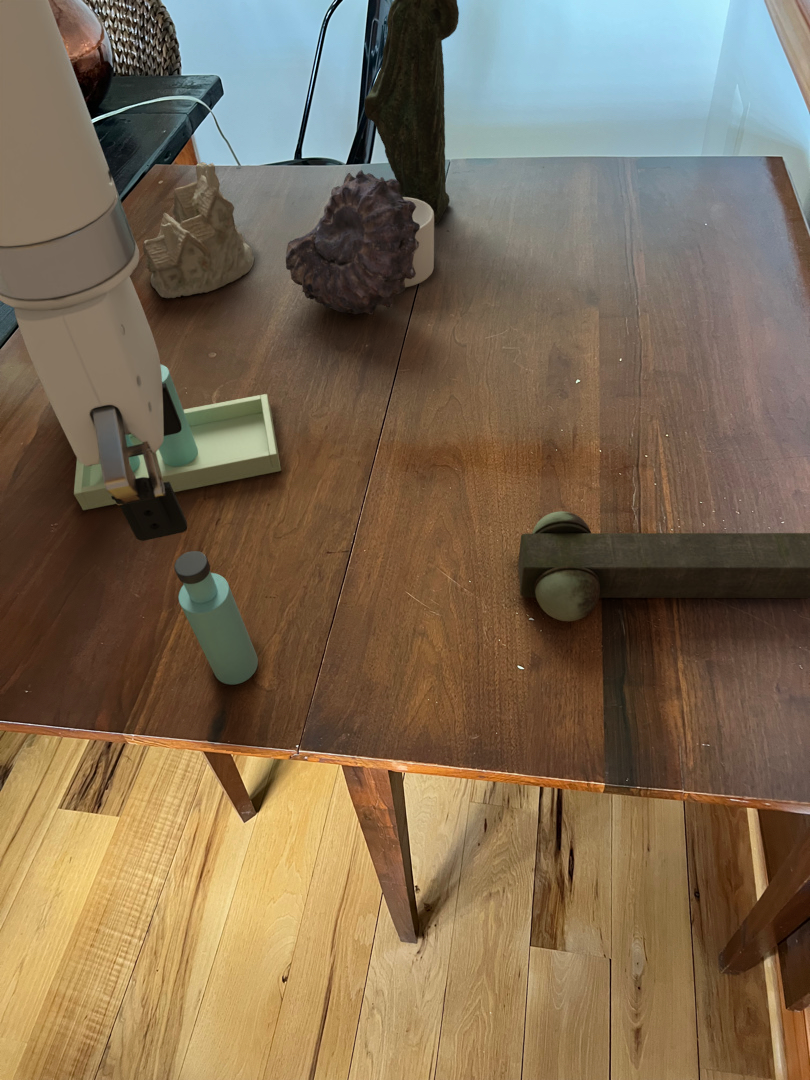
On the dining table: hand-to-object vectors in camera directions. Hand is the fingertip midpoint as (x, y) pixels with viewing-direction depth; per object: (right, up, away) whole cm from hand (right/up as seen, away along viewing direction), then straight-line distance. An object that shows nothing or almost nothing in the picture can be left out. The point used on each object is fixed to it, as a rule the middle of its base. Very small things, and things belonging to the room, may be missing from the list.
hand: (161, 480), depth 52 cm
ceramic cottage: (-14, +37, +63) cm, 74 cm away
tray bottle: (-9, +6, +35) cm, 36 cm away
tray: (-9, +5, +35) cm, 37 cm away
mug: (+14, +35, +59) cm, 70 cm away
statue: (+18, +48, +69) cm, 86 cm away
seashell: (+13, +35, +50) cm, 62 cm away
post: (+43, -3, +21) cm, 48 cm away
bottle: (+1, -15, +17) cm, 23 cm away
